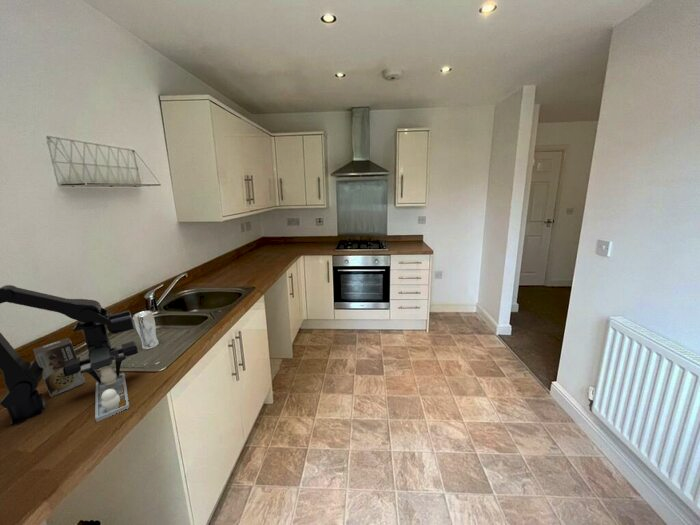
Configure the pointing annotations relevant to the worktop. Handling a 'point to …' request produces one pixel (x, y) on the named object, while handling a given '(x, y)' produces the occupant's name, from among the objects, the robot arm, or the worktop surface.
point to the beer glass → (146, 329)
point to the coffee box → (57, 366)
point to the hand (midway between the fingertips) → (109, 379)
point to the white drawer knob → (110, 400)
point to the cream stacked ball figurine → (108, 375)
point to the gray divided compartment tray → (120, 382)
